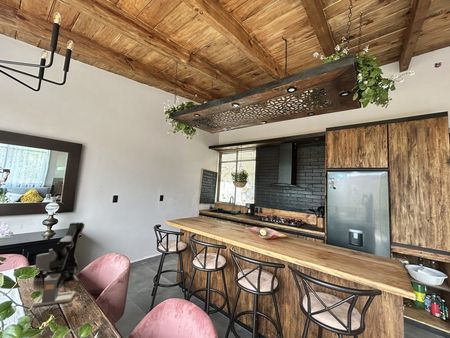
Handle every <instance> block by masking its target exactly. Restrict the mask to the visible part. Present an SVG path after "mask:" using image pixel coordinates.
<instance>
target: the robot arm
mask: <svg viewBox="0 0 450 338" xmlns="http://www.w3.org/2000/svg"><path fill="white" fill-rule="evenodd" d="M84 228H85V223H83V222H70V223H69V226H68V230H67V231H66V234H65V235H64V236H63V237H62V238H60V240H59V241H58V242H57V243H56V244H54V245H53V246H52V249H53V252H54V255H55V256H56V257H55V259H54V261H50V264H49V267H48V268H49V269H50V271H45V270H44V269H39V270H40V273H39V274H38V275H36V276H35V278H36V279H39V278H41V279H42V280H43V281H42V288H43V287H44V279H45V278H46V277H47V276H48V275H51V274H61V277H60V279H59V282H58V284H57V288H58V287H59V288H60V286H61V284H63V283H68V282H72V281H75V280H76V278H75V276H76V273H77V271H78V270H79V263H78V259H77V257H76V253H77V247H78V243H79V237H80V235H81V233H83V231H84Z"/></svg>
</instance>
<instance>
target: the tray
mask: <svg viewBox="0 0 450 338" xmlns="http://www.w3.org/2000/svg"><path fill="white" fill-rule="evenodd" d="M75 295H76V290H72V291H66V292H64V291H63V292H58V297H57V298H56V300H55V301H54V302H46V303H42V296H41V295H40V296H41V297H40V296H39V297H38V298H37V299H36V300H35V301H34V302H33V307H40V306H47V305H54V304H60V303H61V304H62V303H67V302H69V303H70V302H72V300H73V298H74V296H75Z"/></svg>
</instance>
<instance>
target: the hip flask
mask: <svg viewBox="0 0 450 338" xmlns="http://www.w3.org/2000/svg"><path fill="white" fill-rule="evenodd" d="M55 257H56V256H55V255H54V252H53V248H50V249H48V252H46V253H45V252H44V253H39V254H37V255H36V258H35V266H34V268H35V267H36V268H39V269H44V270H45V271H50V269H49V268H48V267H49V264H50V261H54V259H55ZM51 275H54V274H51ZM60 277H61V275H60ZM32 282H33V283H34V284H35V283H39V282H43V280H42V279H41V278H39V279H36V278H35V277H34V276H33V281H32Z"/></svg>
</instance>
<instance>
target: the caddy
mask: <svg viewBox="0 0 450 338" xmlns="http://www.w3.org/2000/svg"><path fill="white" fill-rule="evenodd" d="M60 275H61V274H54V275H48V276H47V277H46V278H45V279H44V287H43V286H42V294H41V295H42V303H46V302H54V301H55V300H56V298H57V297H58V293H59V290H60V289H59V288H60V286H59V287H58V288H57V284H58V282H59V279H60Z"/></svg>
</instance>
